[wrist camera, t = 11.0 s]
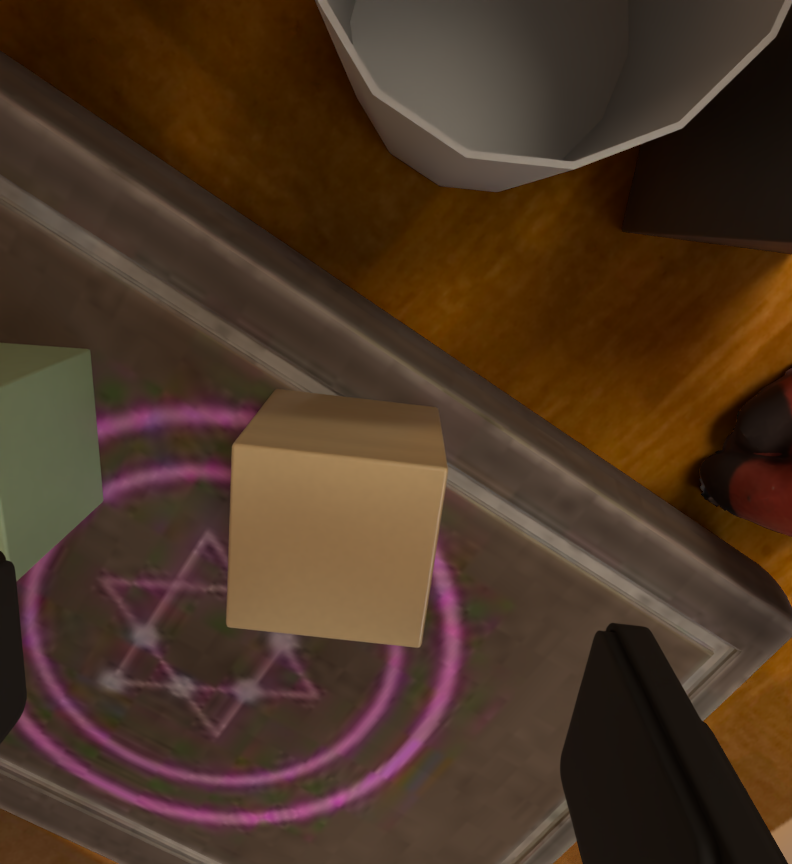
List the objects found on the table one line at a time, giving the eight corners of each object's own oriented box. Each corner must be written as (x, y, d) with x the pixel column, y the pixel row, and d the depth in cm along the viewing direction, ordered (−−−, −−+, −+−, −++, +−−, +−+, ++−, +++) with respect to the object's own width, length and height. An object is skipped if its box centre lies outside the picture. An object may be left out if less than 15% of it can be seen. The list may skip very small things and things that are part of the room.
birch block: (274, 387, 18) (230, 443, 13) (438, 406, 18) (449, 468, 13) (266, 534, 19) (224, 628, 15) (418, 551, 19) (421, 650, 15)
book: (-215, 565, 25) (-357, 644, 21) (-4, 37, 19) (-137, -23, 15) (410, 879, 30) (410, 1001, 26) (736, 540, 24) (815, 618, 20)
